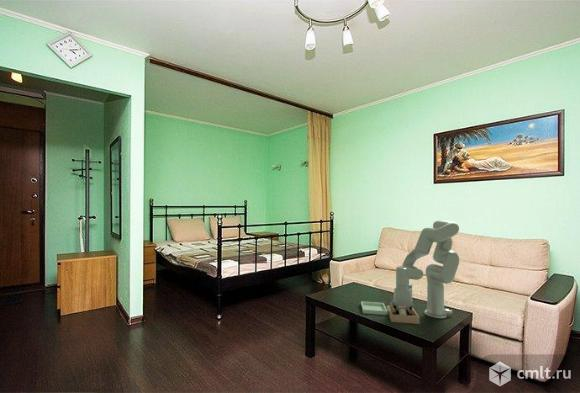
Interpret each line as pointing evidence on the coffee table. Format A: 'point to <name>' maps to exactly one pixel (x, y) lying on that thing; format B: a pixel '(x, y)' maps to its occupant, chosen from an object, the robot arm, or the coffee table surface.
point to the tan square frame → (403, 318)
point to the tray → (374, 308)
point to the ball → (402, 312)
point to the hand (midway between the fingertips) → (402, 316)
